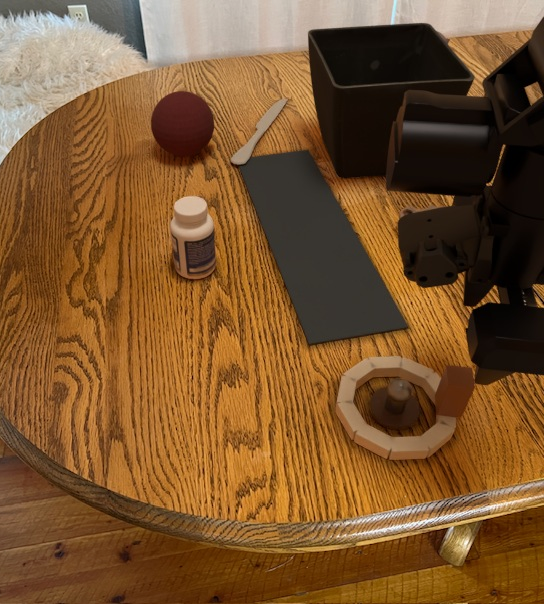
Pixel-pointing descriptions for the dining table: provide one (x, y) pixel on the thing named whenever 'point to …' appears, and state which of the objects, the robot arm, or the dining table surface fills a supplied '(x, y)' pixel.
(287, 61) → the dining table surface
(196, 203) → the pill bottle
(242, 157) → the butter knife
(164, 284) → the dining table surface
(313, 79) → the flower pot
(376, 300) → the rubber mat
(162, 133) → the decorative ball
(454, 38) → the dining table surface
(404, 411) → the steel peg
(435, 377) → the ivory ring
